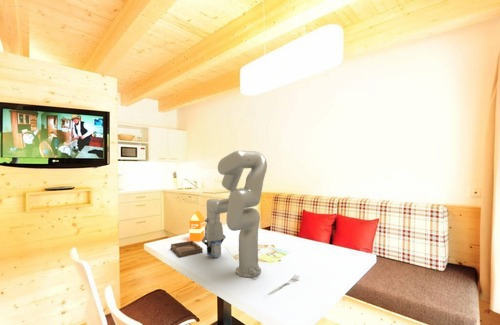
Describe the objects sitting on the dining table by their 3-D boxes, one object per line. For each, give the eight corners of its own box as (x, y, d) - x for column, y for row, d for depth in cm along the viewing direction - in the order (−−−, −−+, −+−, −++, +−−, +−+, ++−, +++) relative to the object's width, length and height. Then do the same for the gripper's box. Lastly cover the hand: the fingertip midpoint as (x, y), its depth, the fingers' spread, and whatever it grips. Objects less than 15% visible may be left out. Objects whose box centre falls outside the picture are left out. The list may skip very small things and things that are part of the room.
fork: (260, 297, 103) (260, 292, 103) (294, 277, 120) (294, 274, 120) (266, 300, 101) (266, 295, 101) (300, 279, 118) (300, 276, 118)
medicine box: (206, 254, 148) (206, 239, 148) (212, 252, 151) (212, 238, 151) (215, 257, 142) (215, 242, 143) (221, 255, 146) (221, 240, 146)
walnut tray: (202, 253, 153) (202, 248, 153) (179, 257, 146) (179, 252, 146) (192, 245, 168) (192, 240, 168) (171, 248, 161) (171, 244, 161)
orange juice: (204, 238, 184) (204, 210, 184) (199, 241, 176) (199, 212, 176) (194, 237, 186) (194, 210, 186) (189, 241, 177) (189, 212, 177)
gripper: (201, 223, 139) (202, 256, 139) (229, 219, 149) (230, 250, 148) (197, 221, 146) (197, 253, 145) (223, 217, 155) (224, 247, 154)
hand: (214, 251), depth 147 cm, fingers closed on medicine box, 5 cm apart
